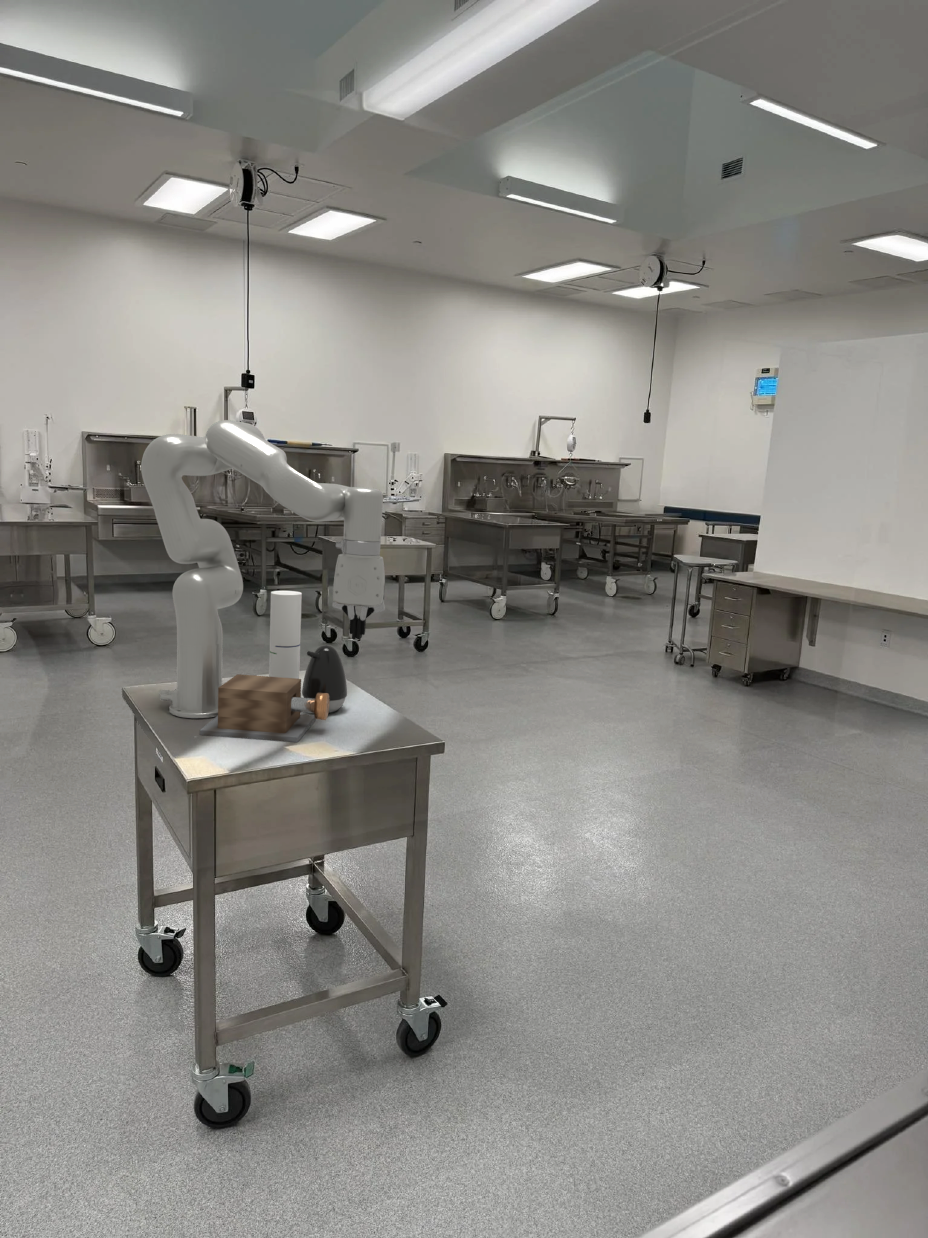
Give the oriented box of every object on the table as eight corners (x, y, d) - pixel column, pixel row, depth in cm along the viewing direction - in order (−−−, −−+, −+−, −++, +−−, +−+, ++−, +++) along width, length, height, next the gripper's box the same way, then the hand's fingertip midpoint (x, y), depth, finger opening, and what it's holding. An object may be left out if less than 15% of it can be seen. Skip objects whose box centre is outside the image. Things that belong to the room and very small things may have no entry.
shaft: (227, 716, 172) (228, 690, 171) (236, 708, 178) (236, 683, 177) (323, 723, 171) (324, 697, 170) (329, 715, 177) (329, 690, 176)
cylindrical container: (291, 700, 197) (294, 595, 193) (263, 697, 198) (265, 593, 194) (303, 693, 204) (306, 592, 200) (276, 689, 205) (278, 589, 201)
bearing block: (199, 734, 168) (200, 689, 166) (226, 713, 184) (226, 671, 182) (297, 742, 167) (298, 696, 165) (315, 719, 183) (317, 677, 181)
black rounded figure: (291, 708, 190) (293, 643, 187) (326, 701, 198) (328, 638, 195) (320, 719, 183) (322, 651, 181) (355, 711, 191) (358, 646, 189)
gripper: (320, 547, 164) (317, 638, 168) (395, 553, 164) (390, 644, 167) (328, 544, 172) (325, 631, 175) (400, 550, 171) (395, 637, 174)
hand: (357, 637), depth 171 cm, fingers closed
